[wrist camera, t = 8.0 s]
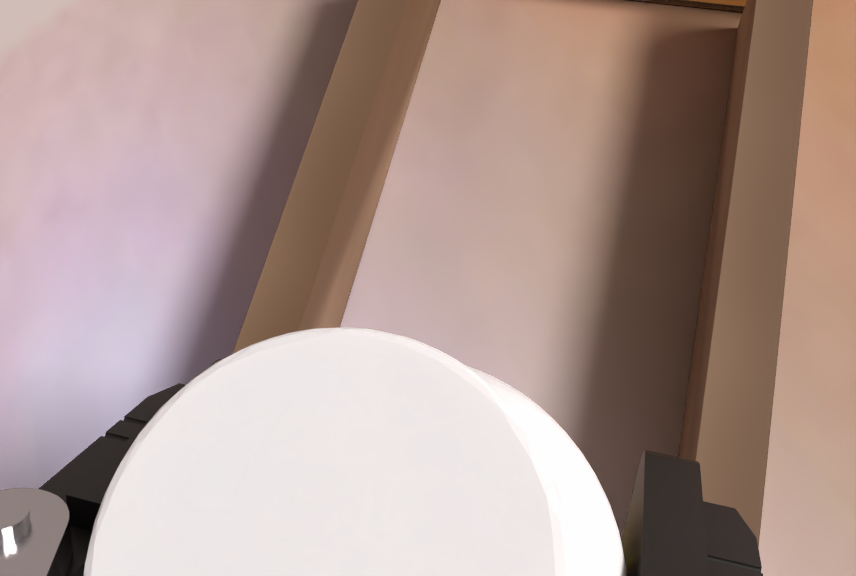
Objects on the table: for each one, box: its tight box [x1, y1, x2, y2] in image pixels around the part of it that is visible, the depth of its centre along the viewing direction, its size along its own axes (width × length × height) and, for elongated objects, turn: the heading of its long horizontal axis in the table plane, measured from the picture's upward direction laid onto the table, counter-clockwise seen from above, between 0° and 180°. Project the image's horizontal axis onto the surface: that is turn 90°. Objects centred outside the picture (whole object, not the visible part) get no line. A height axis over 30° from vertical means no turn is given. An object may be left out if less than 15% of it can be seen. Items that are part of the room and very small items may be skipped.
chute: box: [233, 0, 813, 546], centre depth 18 cm, size 10×16×2 cm, turn 166°
